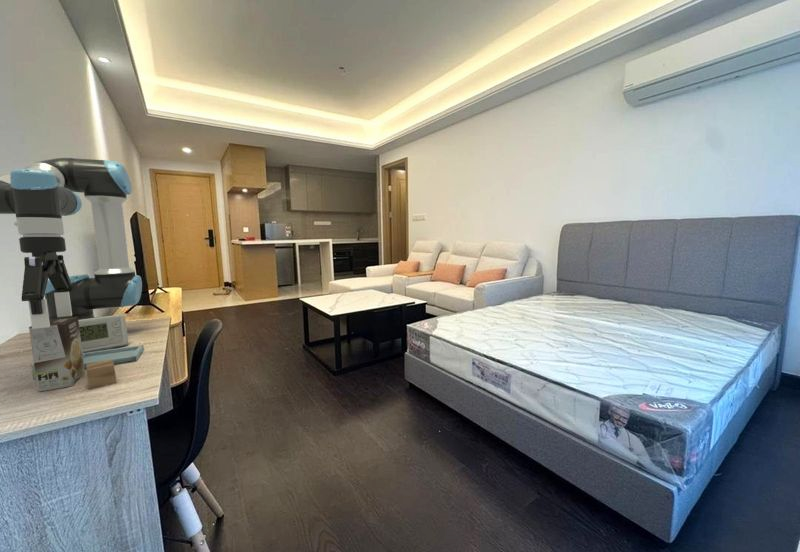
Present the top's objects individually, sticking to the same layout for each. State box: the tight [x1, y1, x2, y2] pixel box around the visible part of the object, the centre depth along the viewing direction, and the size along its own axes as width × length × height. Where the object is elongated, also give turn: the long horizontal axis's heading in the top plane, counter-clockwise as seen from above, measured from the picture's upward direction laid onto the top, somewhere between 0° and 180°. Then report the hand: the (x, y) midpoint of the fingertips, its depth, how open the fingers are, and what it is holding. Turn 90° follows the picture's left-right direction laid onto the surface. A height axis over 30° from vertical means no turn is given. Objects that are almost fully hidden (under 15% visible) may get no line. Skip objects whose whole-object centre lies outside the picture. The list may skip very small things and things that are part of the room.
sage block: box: [30, 363, 37, 381], centre depth 88 cm, size 4×5×4 cm
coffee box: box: [28, 317, 86, 392], centre depth 83 cm, size 9×6×16 cm
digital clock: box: [78, 314, 129, 353], centre depth 108 cm, size 16×9×11 cm, turn 123°
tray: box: [83, 344, 145, 370], centre depth 99 cm, size 12×15×2 cm
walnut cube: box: [85, 360, 117, 390], centre depth 83 cm, size 5×5×5 cm
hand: (54, 321), depth 81 cm, fingers open, 13 cm apart
